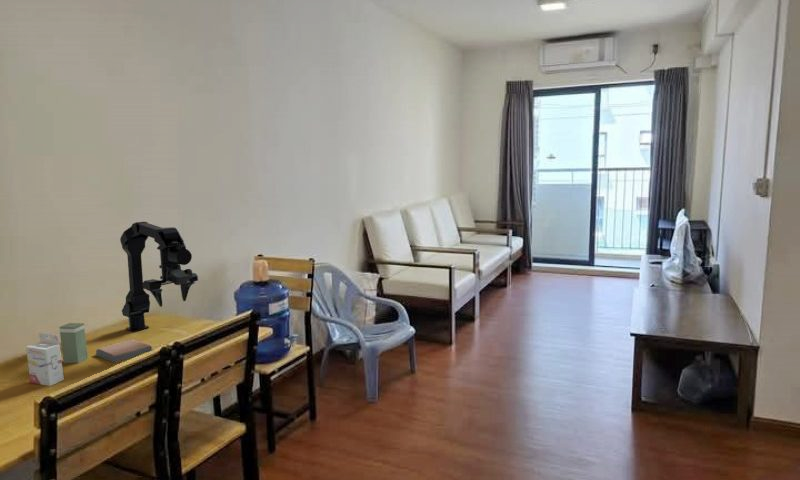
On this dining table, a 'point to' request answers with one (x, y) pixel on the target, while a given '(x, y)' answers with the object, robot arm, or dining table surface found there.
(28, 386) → the dining table surface
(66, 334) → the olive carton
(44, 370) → the ink cartridge box
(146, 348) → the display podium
